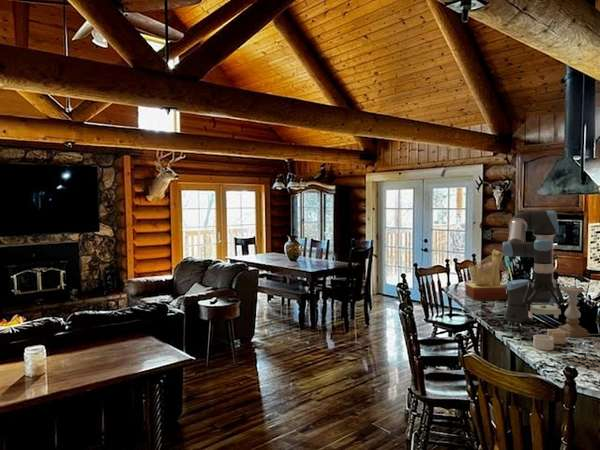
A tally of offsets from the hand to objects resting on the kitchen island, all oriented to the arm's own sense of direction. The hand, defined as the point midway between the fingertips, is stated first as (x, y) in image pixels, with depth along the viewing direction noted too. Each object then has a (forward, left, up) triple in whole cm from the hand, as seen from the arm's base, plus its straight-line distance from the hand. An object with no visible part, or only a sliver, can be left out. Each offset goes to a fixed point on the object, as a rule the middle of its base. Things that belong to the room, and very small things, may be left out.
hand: (543, 317), depth 213 cm
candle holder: (-22, +24, -15) cm, 36 cm away
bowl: (0, 0, -15) cm, 15 cm away
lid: (0, 0, +3) cm, 3 cm away
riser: (-9, +10, -15) cm, 20 cm away
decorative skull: (-154, +24, -15) cm, 156 cm away
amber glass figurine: (-114, +9, -15) cm, 115 cm away
